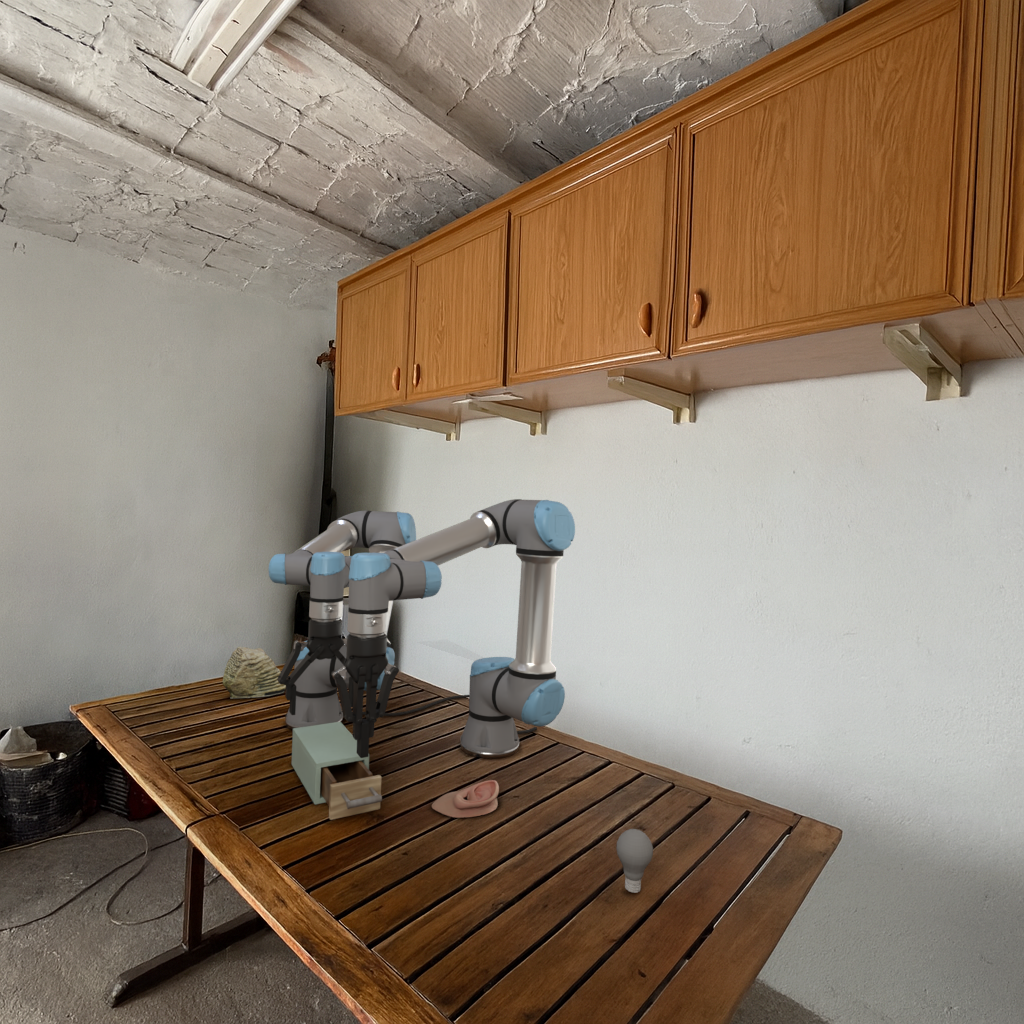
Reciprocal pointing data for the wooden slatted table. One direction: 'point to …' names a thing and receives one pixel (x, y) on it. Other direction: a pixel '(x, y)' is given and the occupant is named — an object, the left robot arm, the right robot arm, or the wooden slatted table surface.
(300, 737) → the cabinet
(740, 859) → the wooden slatted table surface
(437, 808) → the anatomical model
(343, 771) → the drawer
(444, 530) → the right robot arm
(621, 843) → the light bulb
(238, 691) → the fossil
